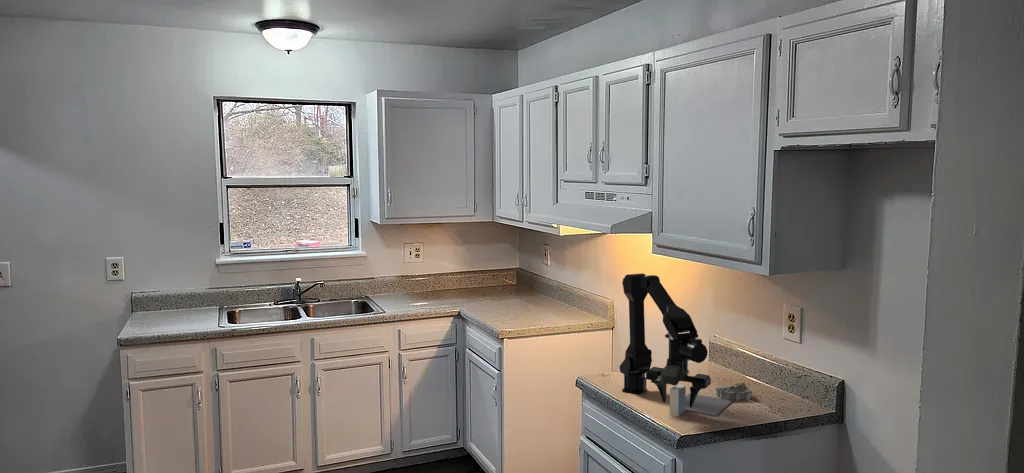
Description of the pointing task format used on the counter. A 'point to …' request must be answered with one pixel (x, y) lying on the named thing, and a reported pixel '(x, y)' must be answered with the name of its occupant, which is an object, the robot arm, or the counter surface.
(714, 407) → the mat
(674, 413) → the card box
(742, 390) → the egg carton
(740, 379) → the counter surface
